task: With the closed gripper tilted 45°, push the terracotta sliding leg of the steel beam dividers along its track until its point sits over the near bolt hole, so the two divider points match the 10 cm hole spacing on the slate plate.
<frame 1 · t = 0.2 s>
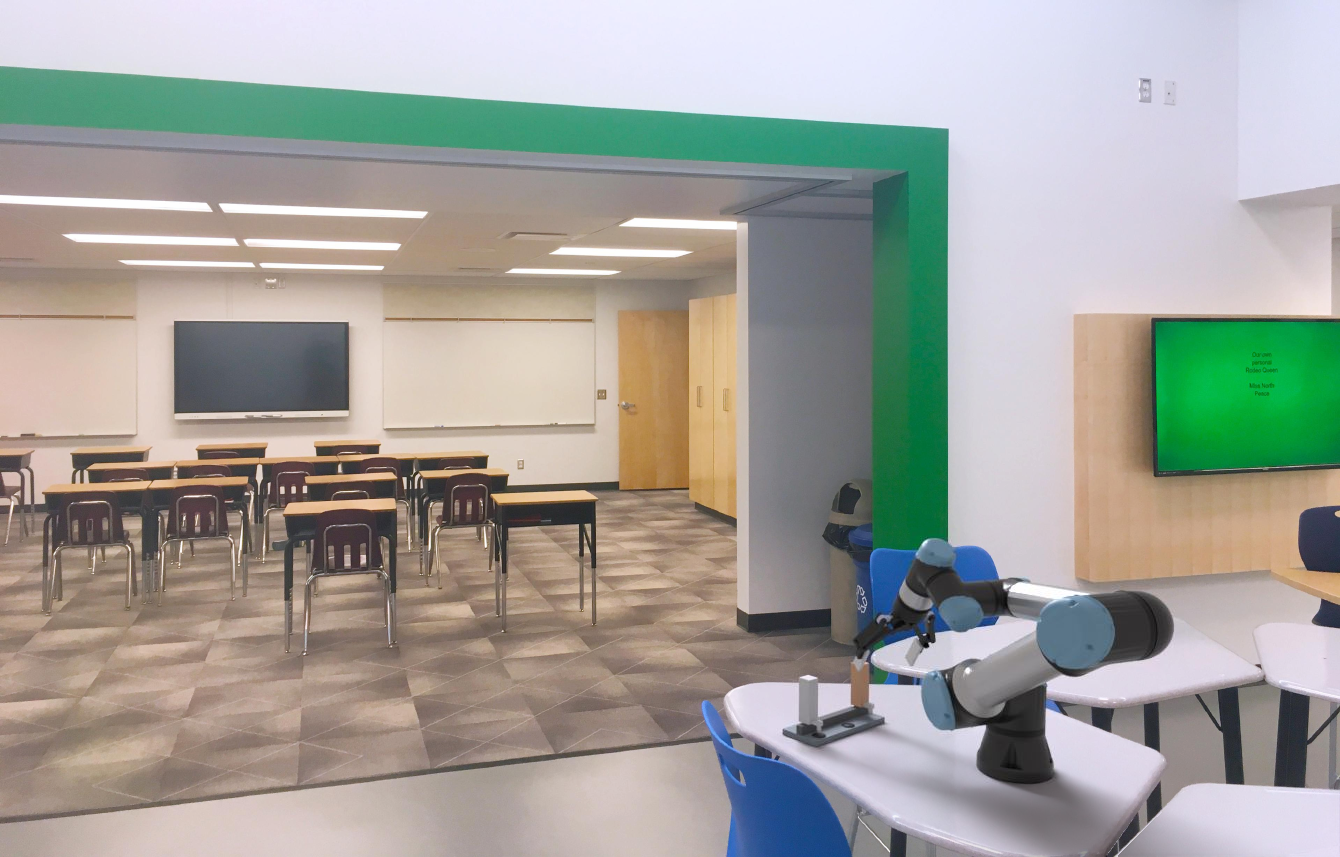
hand: (883, 663, 230), 15 cm above the table, fingers open, 13 cm apart
divider plate: (828, 729, 230), on the table
sliding leg: (863, 687, 236), point 8 cm above the table, slide at 0.0 cm
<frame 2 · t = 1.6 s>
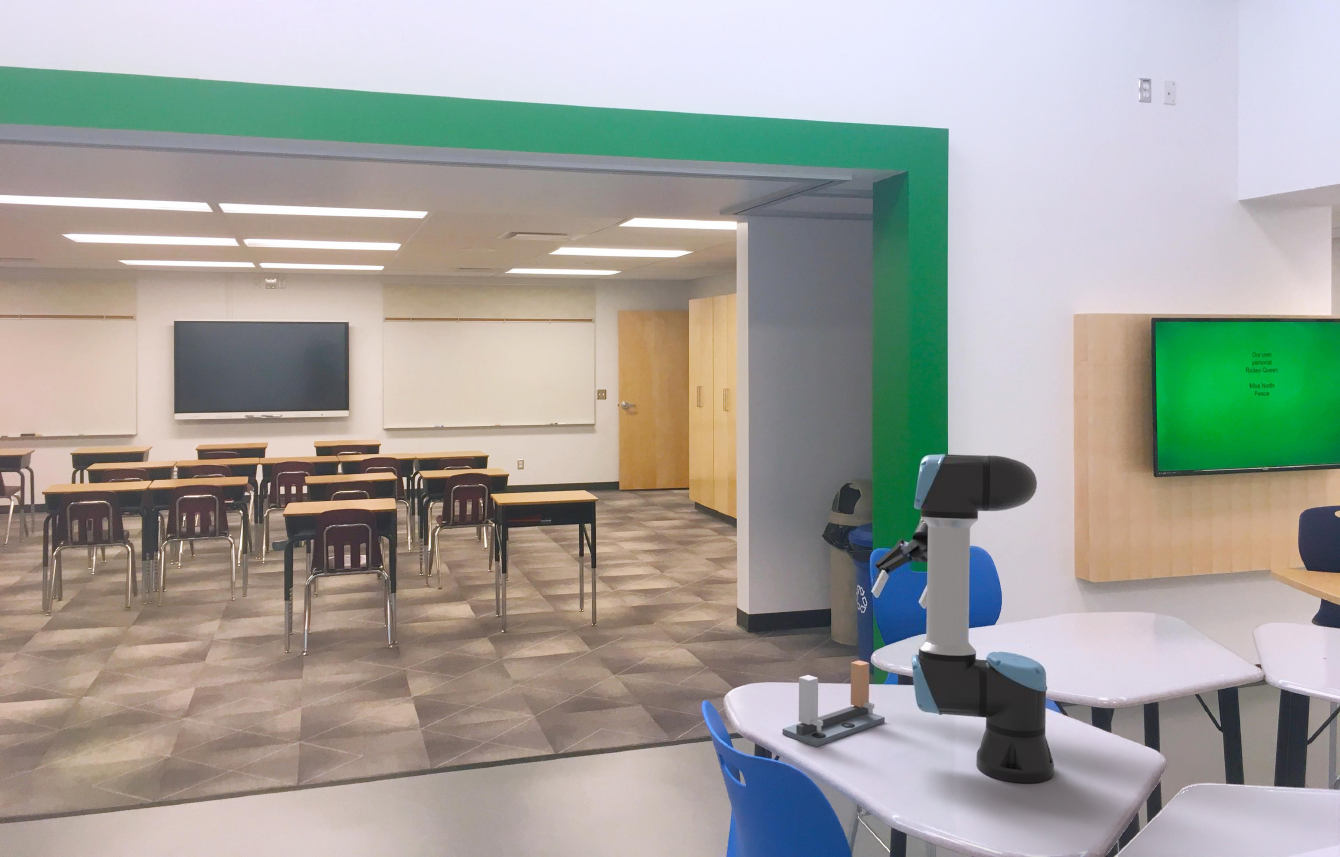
hand: (897, 599, 246), 26 cm above the table, fingers open, 13 cm apart
nothing on the table moved.
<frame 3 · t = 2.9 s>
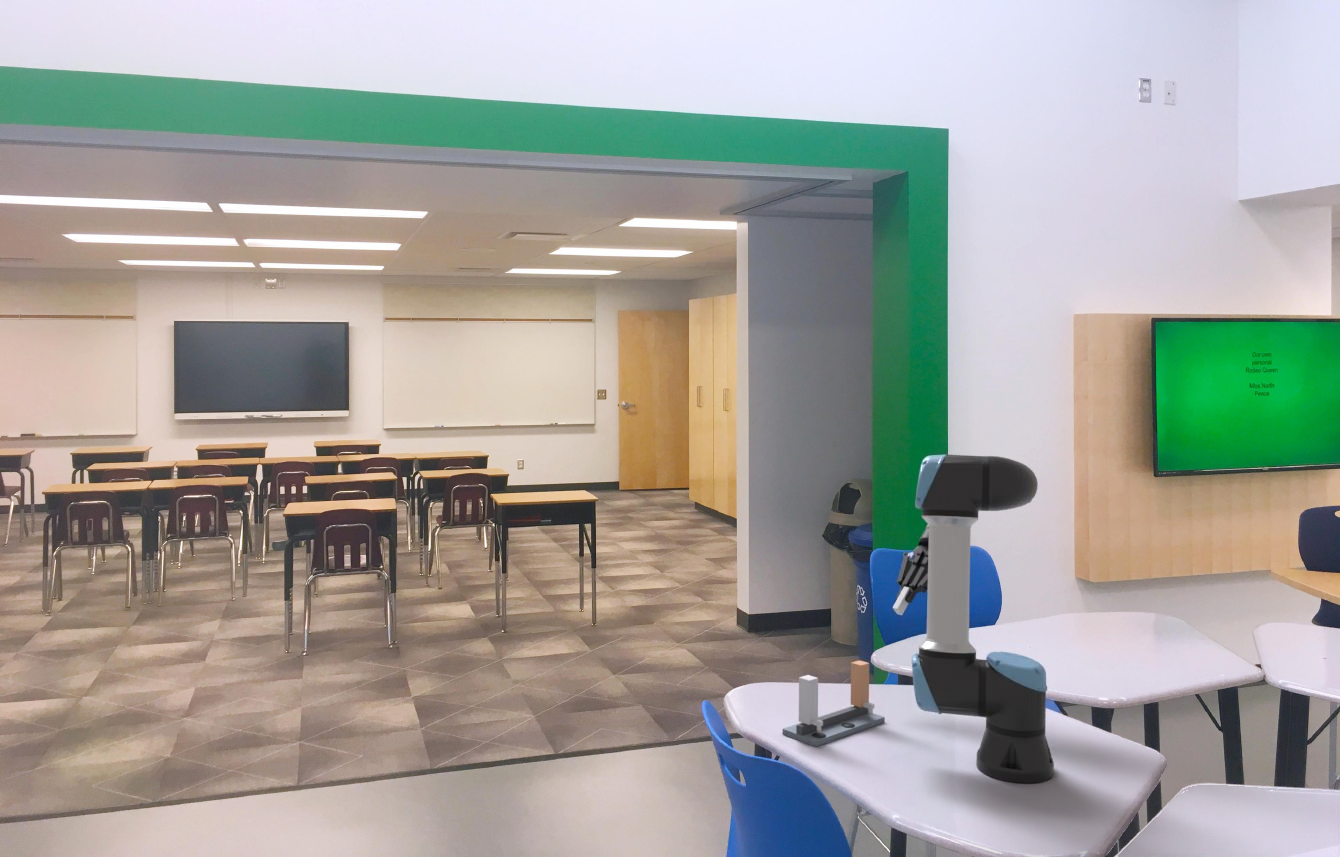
hand: (897, 611, 246), 23 cm above the table, fingers closed
nothing on the table moved.
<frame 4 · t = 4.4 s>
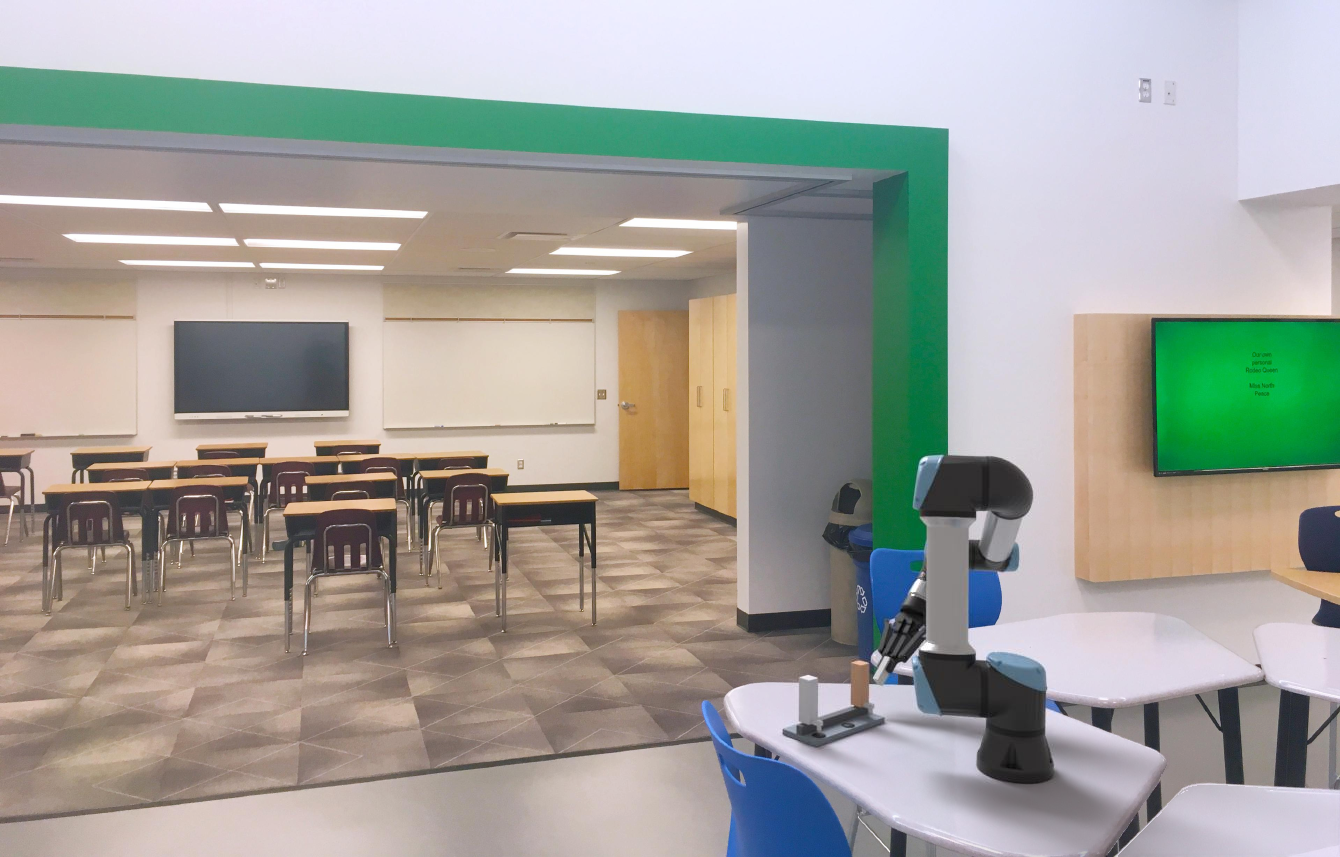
hand: (877, 681, 242), 7 cm above the table, fingers closed
nothing on the table moved.
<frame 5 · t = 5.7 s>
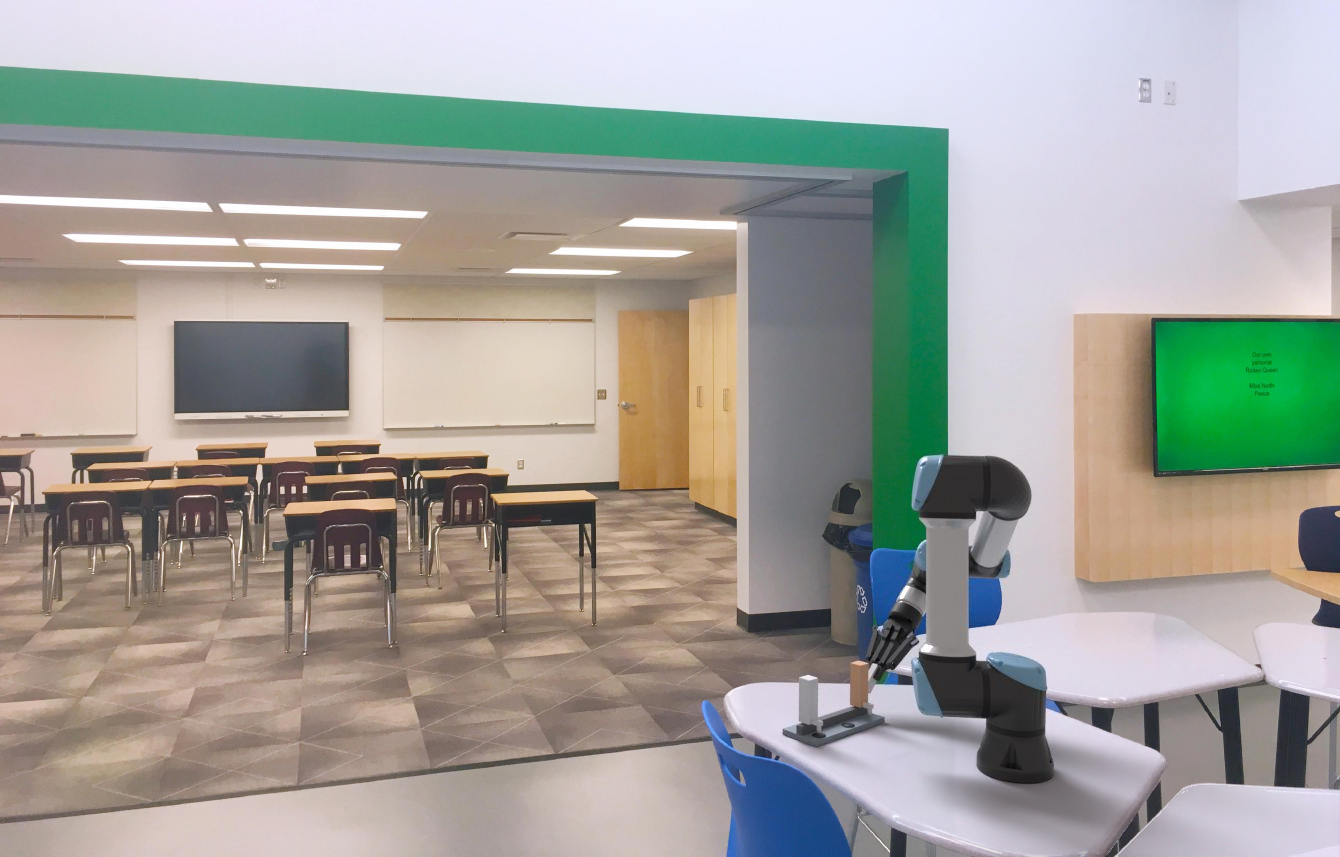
hand: (865, 689, 239), 6 cm above the table, fingers closed
sliding leg: (863, 687, 236), point 8 cm above the table, slide at 0.3 cm, touching gripper
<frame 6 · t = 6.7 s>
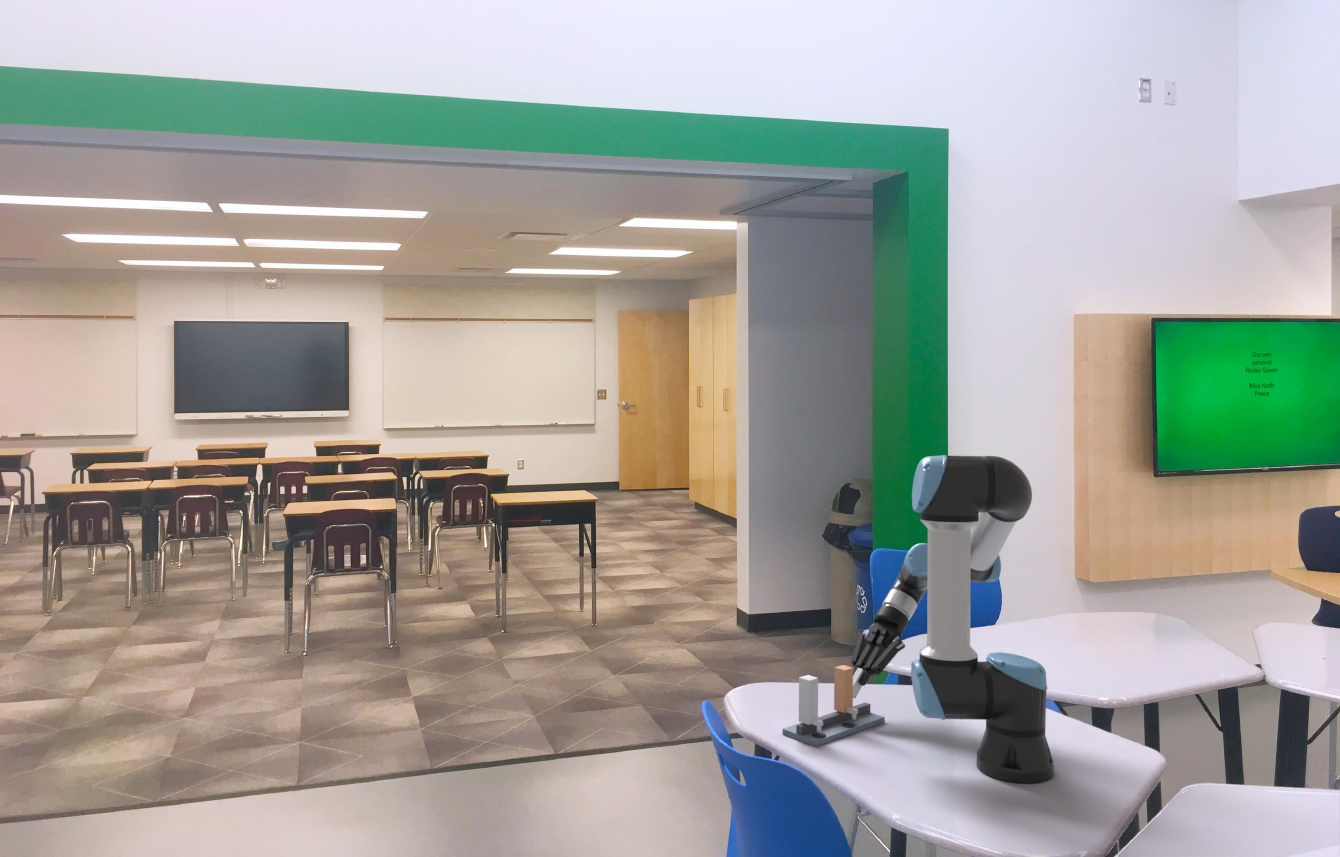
hand: (850, 694, 235), 7 cm above the table, fingers closed
sliding leg: (847, 692, 232), point 8 cm above the table, slide at 5.9 cm, touching gripper
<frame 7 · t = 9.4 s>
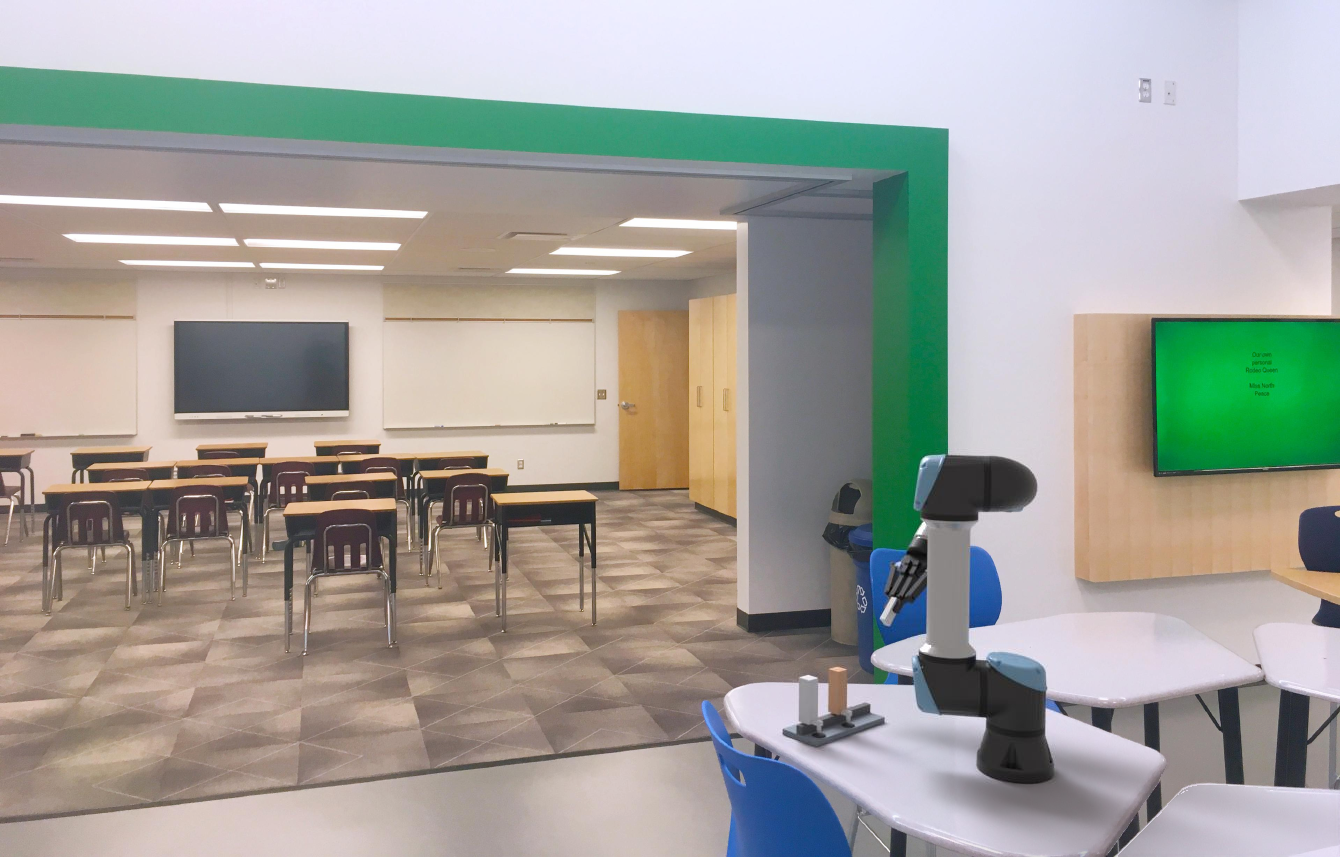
hand: (884, 622, 240), 22 cm above the table, fingers closed
sliding leg: (841, 694, 231), point 8 cm above the table, slide at 8.0 cm
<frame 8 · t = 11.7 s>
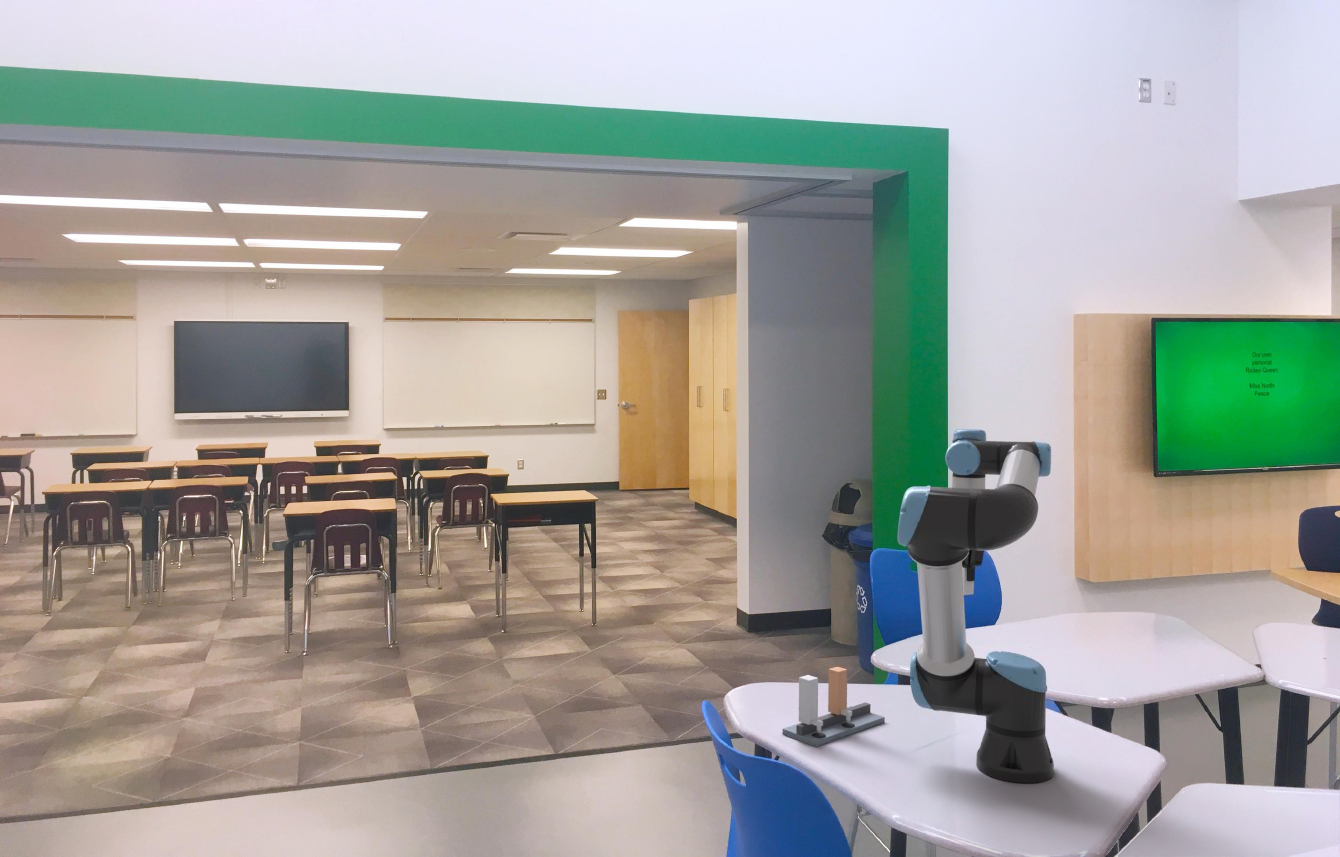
hand: (966, 593, 238), 29 cm above the table, fingers closed
nothing on the table moved.
at the end: sliding leg slide at 8.0 cm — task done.
